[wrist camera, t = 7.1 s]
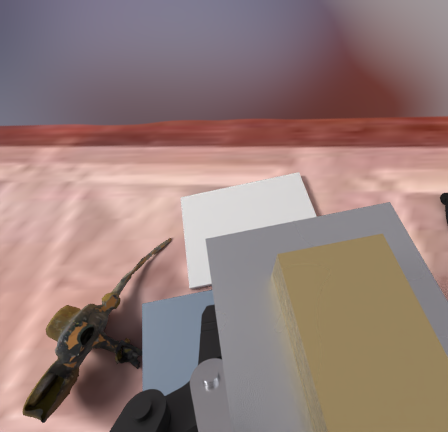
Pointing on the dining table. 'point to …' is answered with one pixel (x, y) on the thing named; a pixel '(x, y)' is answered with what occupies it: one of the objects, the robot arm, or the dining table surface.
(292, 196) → the mat
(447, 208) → the micrometer
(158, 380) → the body
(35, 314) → the dining table surface
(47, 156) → the dining table surface
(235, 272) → the grey yellow-tipped rectangular bar
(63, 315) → the regulator
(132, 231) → the dining table surface
